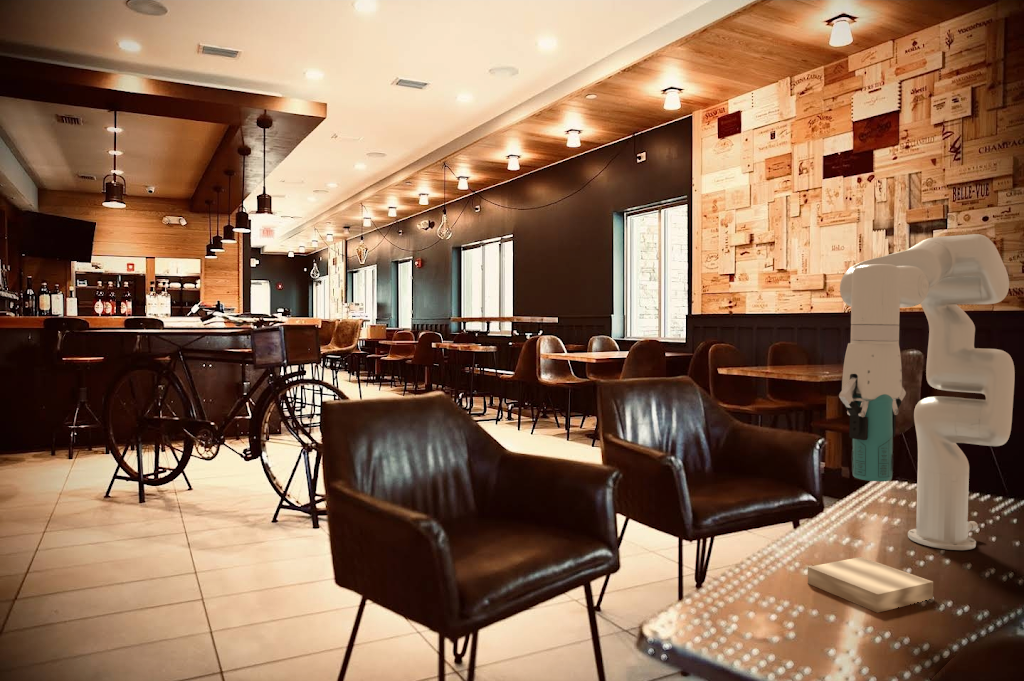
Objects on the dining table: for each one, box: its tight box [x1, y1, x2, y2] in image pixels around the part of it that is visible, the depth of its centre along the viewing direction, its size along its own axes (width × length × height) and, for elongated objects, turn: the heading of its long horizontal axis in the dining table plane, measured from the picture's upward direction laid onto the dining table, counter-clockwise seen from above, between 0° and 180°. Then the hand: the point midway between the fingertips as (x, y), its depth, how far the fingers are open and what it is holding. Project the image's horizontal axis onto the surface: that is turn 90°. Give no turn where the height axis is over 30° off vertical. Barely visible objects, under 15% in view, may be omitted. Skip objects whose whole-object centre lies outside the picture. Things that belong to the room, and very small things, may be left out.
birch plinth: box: [807, 556, 934, 613], centre depth 123 cm, size 14×14×3 cm
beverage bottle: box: [851, 394, 894, 482], centre depth 122 cm, size 6×7×20 cm
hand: (872, 436), depth 122 cm, fingers closed on beverage bottle, 6 cm apart
